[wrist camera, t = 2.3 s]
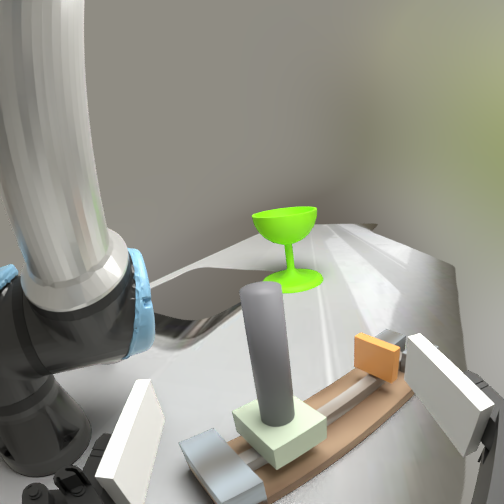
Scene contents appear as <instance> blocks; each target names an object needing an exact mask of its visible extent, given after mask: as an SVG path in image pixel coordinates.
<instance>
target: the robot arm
mask: <svg viewBox="0 0 504 504" xmlns="http://www.w3.org/2000/svg"><path fill="white" fill-rule="evenodd" d="M84 58H85V57H84V0H0V198H1V200H2V203H3V206H4V209H5V212H6V215H7V217H8V220H9V223H10V225H11V228H12V230H13V233H14V236H15V238H16V241H17V243H18V245H19V248H20V250H21V252H22V255H23V257H24V259H25V263H24V265H23V268H22V271H21V276H18V270H16V268H15V266H14V265H12V264H9V265H8V266H3V267H1V268H0V455H1V456H2V457H3V459H4V460H5V462H6V463H7V464H8V465H9V467H10V468H12V469H13V470H14V471H16V472H18V473H20V474H23V475H26V476H46V475H50V474H53V473H55V475H54V478H53V479H54V483H55V485H56V486H57V487H58V488H59V490H48V489H47V487H46V486H45V485H44V484H41V483H32V484H30V485H28V486H27V487H26V488H25V489H24V490H23V494H22V504H144V503H145V499H146V494H147V490H148V486H149V482H150V478H151V474H152V470H153V466H154V462H155V458H156V454H157V450H158V446H159V442H160V438H161V434H162V430H163V426H164V423H165V417H164V415H163V412H162V409H161V407H160V404H159V402H158V399H157V396H156V393H155V391H154V388H153V385H152V382H151V380H150V379H144V380H136V382H135V384H134V386H133V389H132V391H131V393H130V395H129V397H128V400H127V402H126V404H125V406H124V409H123V411H122V413H121V415H120V418H119V420H118V422H117V424H116V427H115V429H114V431H113V434H103V435H102V436H101V437H99V438H98V439H97V440H96V442H95V444H94V447H93V450H92V451H91V453H90V457H88V460H87V462H86V464H85V466H84V468H83V471H82V470H81V469H80V468H79V467H76V466H70V465H71V464H72V463H74V462H75V461H76V460H77V459H78V458H79V457H80V456H81V455H82V454H83V452H84V451H85V449H86V448H87V446H88V444H89V441H90V438H91V425H90V422H89V420H88V419H87V417H86V415H85V413H84V411H83V409H82V408H81V407H80V405H79V404H78V403H77V402H76V401H75V400H74V399H73V398H72V397H71V396H70V395H69V394H68V393H67V392H66V391H65V390H64V389H63V388H62V387H61V386H60V384H59V383H58V382H57V381H56V380H55V378H54V376H53V374H55V373H60V372H65V371H69V370H74V369H78V368H83V367H88V366H93V365H97V364H102V363H106V362H111V361H115V360H120V359H121V360H124V359H127V358H129V357H130V356H132V355H135V354H138V353H142V352H144V351H147V350H148V349H149V348H150V347H151V346H152V344H153V342H154V338H155V320H154V311H153V305H152V302H151V293H150V285H149V280H148V275H147V271H146V267H145V263H144V260H143V257H142V255H141V253H140V251H139V250H137V249H130V248H127V246H126V244H125V242H124V240H123V239H122V237H121V236H120V235H118V234H117V233H116V232H114V231H113V230H111V229H108V228H107V225H106V220H105V215H104V211H103V206H102V201H101V195H100V190H99V184H98V179H97V173H96V167H95V160H94V154H93V146H92V139H91V131H90V122H89V113H88V103H87V93H86V92H87V91H86V77H85V59H84ZM404 380H405V381H406V383H407V384H408V385H409V386H410V388H411V389H412V390H413V392H414V393H415V394H416V395H417V397H418V398H419V399H420V401H421V402H422V403H423V405H424V406H425V407H426V408H427V410H428V411H429V412H430V414H431V415H432V416H433V418H434V419H435V420H436V422H437V423H438V424H439V426H440V427H441V428H442V430H443V431H444V432H445V434H446V435H447V436H448V438H449V439H450V440H451V442H452V443H453V444H454V446H455V447H456V449H457V450H458V451H459V453H460V454H461V455H462V457H465V456H467V455H469V454H470V453H473V452H475V451H476V450H477V448H478V446H479V443H480V442H482V443H483V444H484V445H485V447H484V449H483V451H482V453H481V456H480V458H479V460H478V462H480V460H481V463H480V468H479V473H478V477H477V482H476V486H475V491H474V495H473V498H472V502H471V504H504V399H503V398H502V397H501V396H500V395H499V394H498V393H497V392H496V391H495V390H494V389H493V388H491V386H489V385H488V384H487V383H486V382H485V381H483V379H482V378H481V377H479V375H477V374H475V373H473V372H471V371H469V370H468V371H466V372H463V373H462V372H461V371H460V370H459V369H458V368H457V367H456V366H455V365H454V364H453V363H452V362H451V361H450V360H449V359H447V358H446V357H445V356H444V355H443V354H442V353H441V352H440V351H439V350H438V349H437V348H436V347H435V346H433V345H432V344H431V343H430V342H429V341H428V340H427V339H426V338H425V337H424V336H422V335H421V334H420V333H419V334H416V335H412V336H409V337H408V341H407V354H406V364H405V374H404Z"/></svg>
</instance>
